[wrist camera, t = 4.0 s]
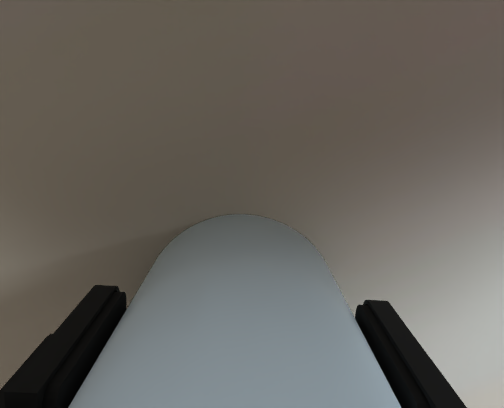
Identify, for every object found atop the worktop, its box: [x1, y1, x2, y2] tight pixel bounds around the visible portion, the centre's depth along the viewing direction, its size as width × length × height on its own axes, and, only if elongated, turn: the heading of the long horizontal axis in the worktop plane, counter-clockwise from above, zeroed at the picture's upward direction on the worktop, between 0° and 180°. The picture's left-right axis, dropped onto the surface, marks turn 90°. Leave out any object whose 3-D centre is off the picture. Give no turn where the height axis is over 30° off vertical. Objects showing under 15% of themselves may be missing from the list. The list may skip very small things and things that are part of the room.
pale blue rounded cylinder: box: [68, 214, 401, 408], centre depth 8 cm, size 6×6×8 cm
